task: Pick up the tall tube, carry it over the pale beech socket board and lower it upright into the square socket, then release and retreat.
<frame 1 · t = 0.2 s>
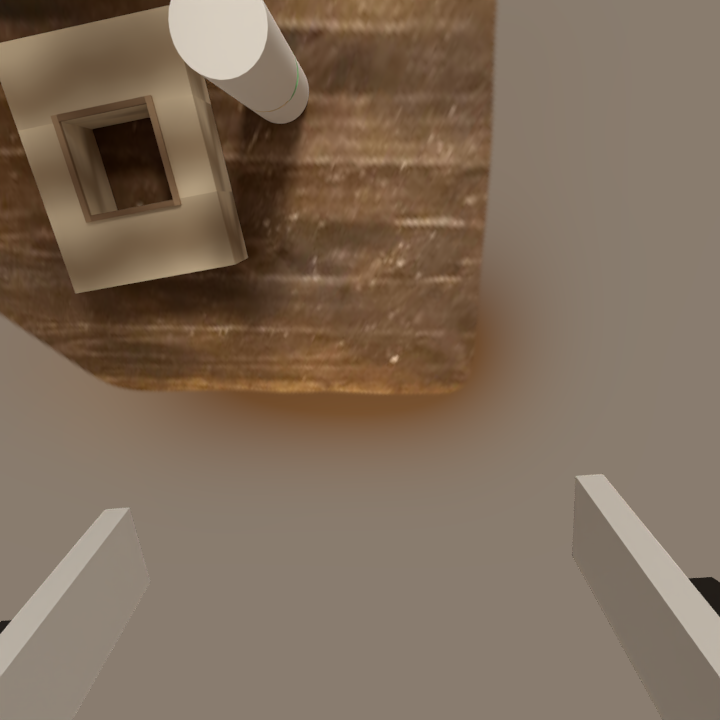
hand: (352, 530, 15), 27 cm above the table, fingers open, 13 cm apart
tube: (279, 91, 36), on the table
socket board: (144, 164, 38), on the table
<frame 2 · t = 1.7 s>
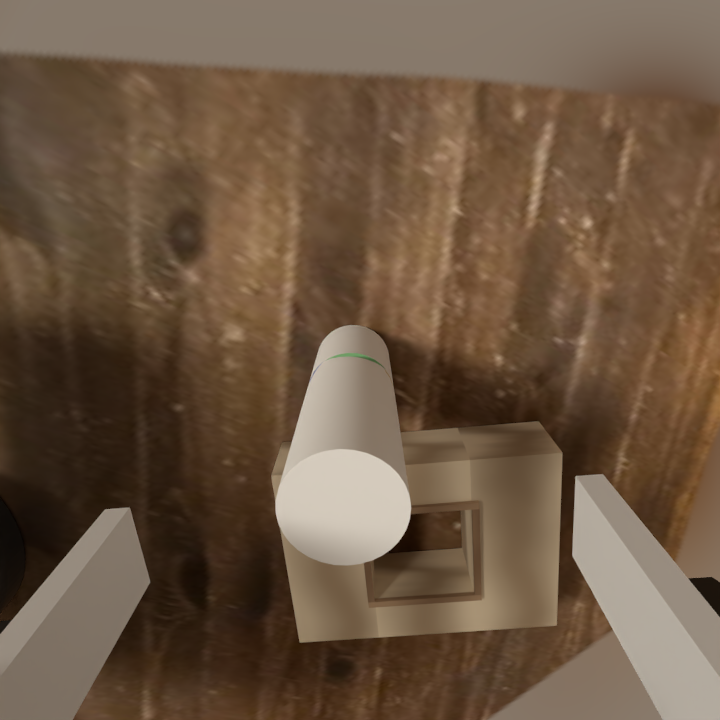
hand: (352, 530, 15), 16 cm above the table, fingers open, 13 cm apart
tube: (353, 358, 30), on the table
socket board: (415, 513, 34), on the table
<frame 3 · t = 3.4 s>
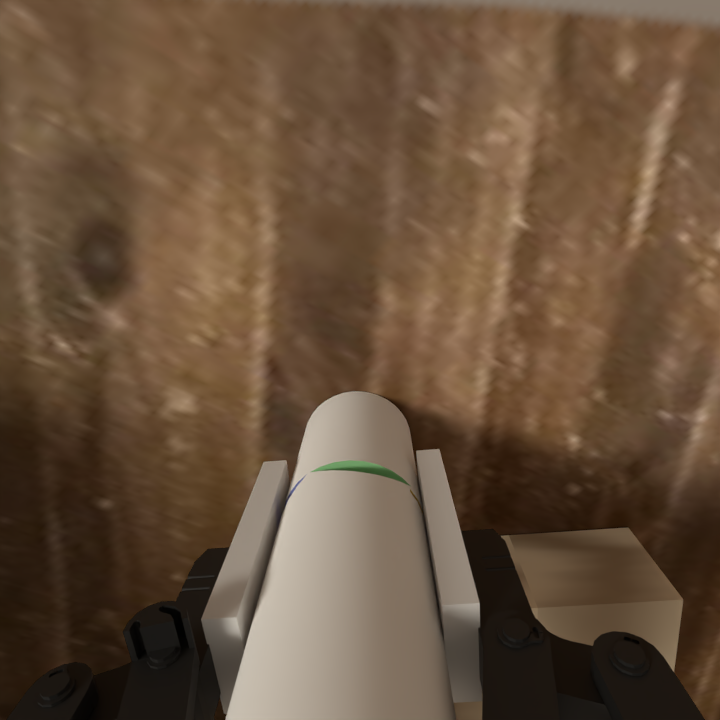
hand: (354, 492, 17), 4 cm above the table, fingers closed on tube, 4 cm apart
tube: (357, 438, 21), on the table, touching gripper
socket board: (444, 647, 24), on the table
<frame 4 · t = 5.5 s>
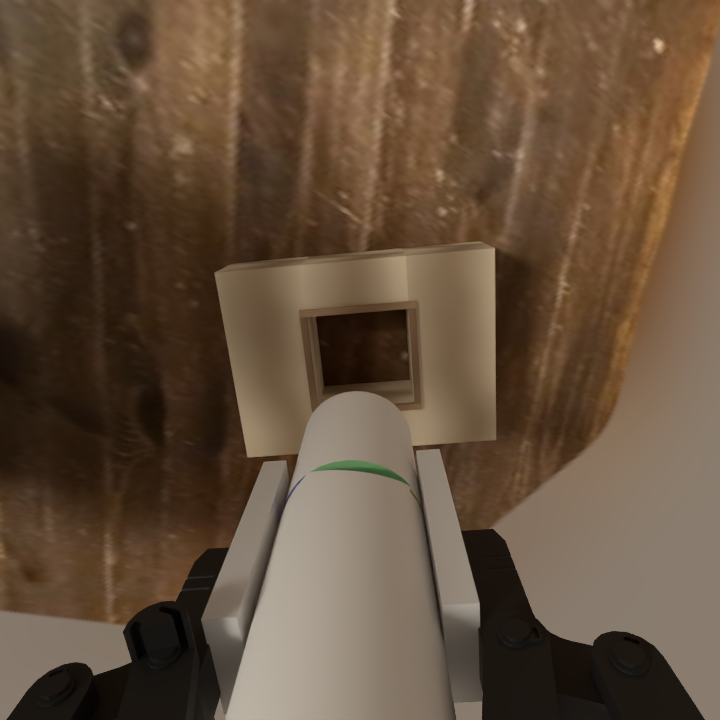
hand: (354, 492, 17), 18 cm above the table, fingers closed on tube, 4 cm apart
tube: (357, 438, 21), point 15 cm above the table, touching gripper
socket board: (363, 341, 35), on the table
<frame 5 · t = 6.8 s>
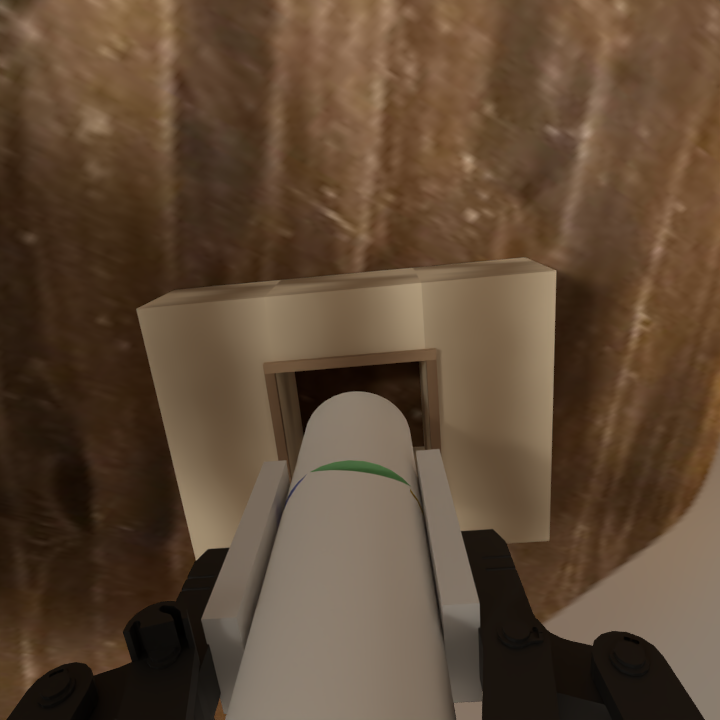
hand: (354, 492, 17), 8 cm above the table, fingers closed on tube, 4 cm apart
tube: (357, 438, 21), point 4 cm above the table, touching gripper
socket board: (359, 396, 25), on the table
when the fingers open (5 cm above the table, at t = 7.6 s): tube drops 1 cm, on the table.
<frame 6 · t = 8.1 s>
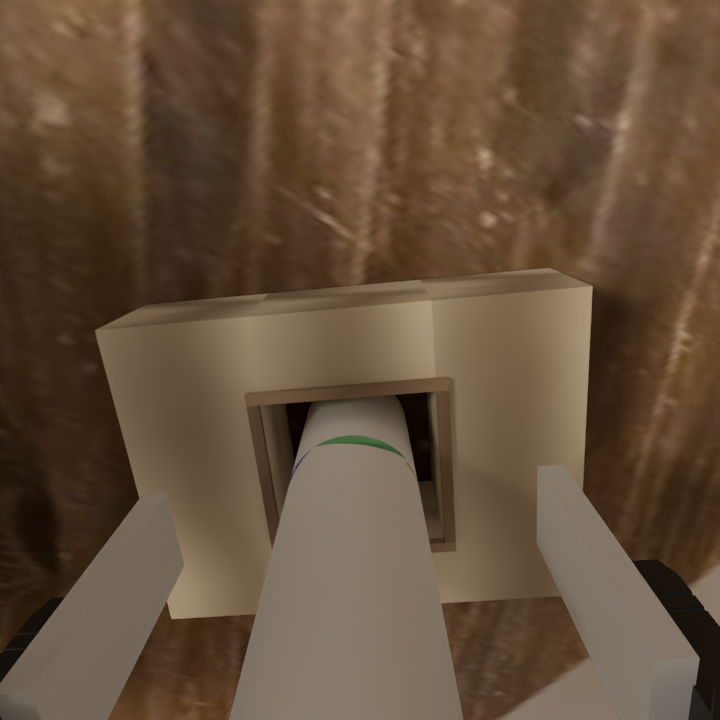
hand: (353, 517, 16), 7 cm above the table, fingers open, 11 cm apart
tube: (356, 422, 22), on the table
socket board: (358, 424, 22), on the table
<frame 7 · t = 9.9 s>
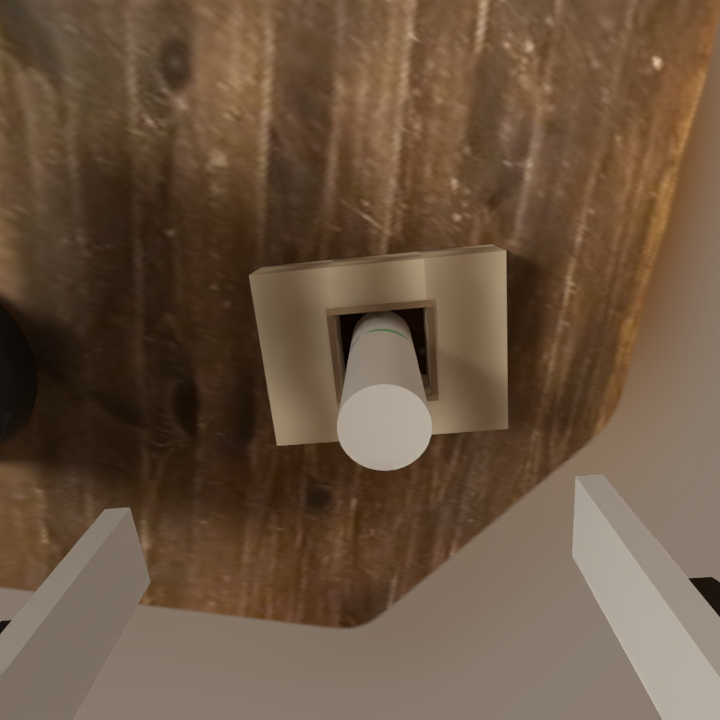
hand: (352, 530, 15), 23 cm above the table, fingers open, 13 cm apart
tube: (381, 337, 37), on the table
socket board: (383, 338, 37), on the table
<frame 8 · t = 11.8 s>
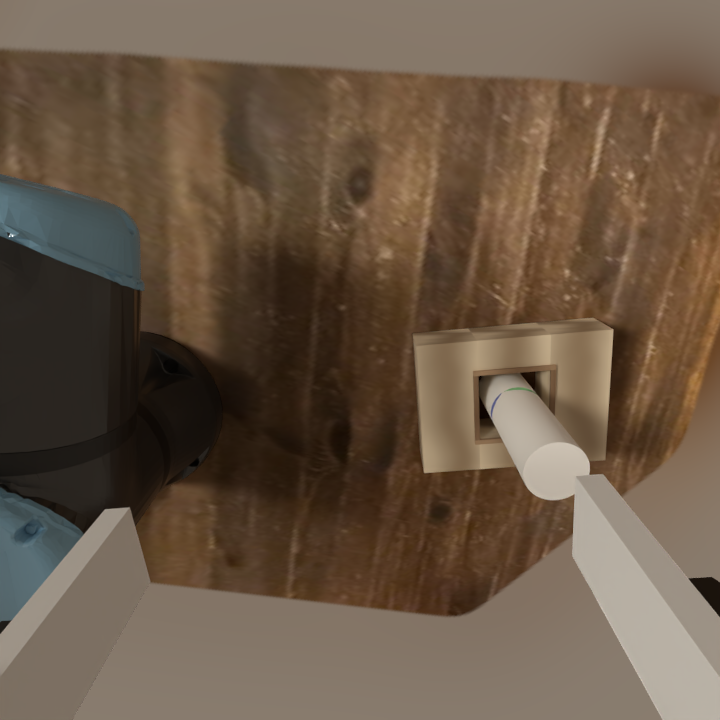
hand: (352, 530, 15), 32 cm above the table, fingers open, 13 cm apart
tube: (500, 386, 48), on the table
socket board: (502, 387, 47), on the table
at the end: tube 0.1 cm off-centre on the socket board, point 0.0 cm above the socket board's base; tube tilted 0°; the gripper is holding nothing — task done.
